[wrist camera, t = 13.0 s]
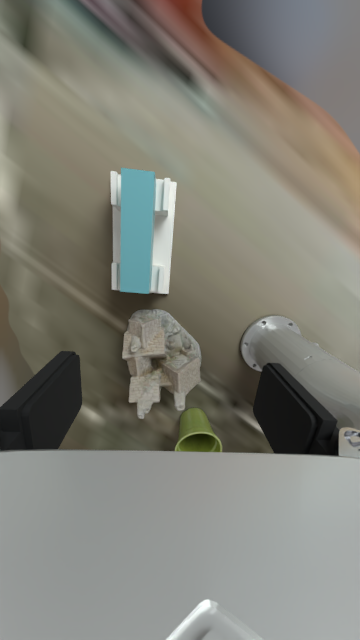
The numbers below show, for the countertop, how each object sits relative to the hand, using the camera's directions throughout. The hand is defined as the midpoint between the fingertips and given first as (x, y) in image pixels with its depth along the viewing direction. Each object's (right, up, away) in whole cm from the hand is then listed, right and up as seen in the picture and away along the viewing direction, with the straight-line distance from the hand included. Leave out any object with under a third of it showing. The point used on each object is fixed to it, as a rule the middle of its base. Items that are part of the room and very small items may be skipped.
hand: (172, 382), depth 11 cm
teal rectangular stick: (-6, +16, +21) cm, 27 cm away
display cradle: (-6, +17, +26) cm, 32 cm away
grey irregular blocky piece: (-3, -2, +33) cm, 33 cm away
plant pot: (+3, -20, +39) cm, 44 cm away
